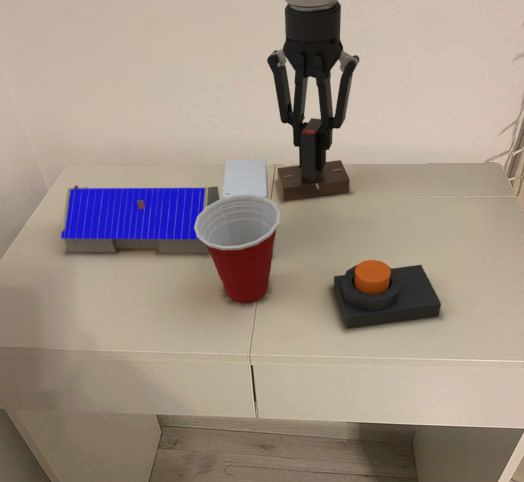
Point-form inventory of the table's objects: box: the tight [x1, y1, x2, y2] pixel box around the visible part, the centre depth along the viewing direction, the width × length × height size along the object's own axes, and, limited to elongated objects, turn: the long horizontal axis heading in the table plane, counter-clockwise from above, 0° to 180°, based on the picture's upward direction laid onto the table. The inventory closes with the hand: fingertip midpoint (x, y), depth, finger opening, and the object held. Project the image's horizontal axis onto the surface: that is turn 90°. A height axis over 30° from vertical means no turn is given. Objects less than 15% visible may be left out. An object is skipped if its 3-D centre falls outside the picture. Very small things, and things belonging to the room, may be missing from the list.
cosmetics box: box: [221, 157, 270, 200], centre depth 81 cm, size 10×6×10 cm, turn 0°
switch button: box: [354, 259, 391, 294], centre depth 70 cm, size 4×4×2 cm
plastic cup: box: [194, 194, 281, 304], centre depth 72 cm, size 11×11×12 cm
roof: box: [60, 185, 221, 254], centre depth 86 cm, size 22×14×7 cm, turn 84°
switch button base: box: [333, 264, 442, 329], centre depth 72 cm, size 12×8×4 cm, turn 97°
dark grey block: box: [301, 117, 321, 183], centre depth 89 cm, size 6×2×8 cm, turn 160°
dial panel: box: [276, 159, 351, 202], centre depth 92 cm, size 11×10×3 cm
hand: (312, 165), depth 91 cm, fingers closed on dark grey block, 2 cm apart
